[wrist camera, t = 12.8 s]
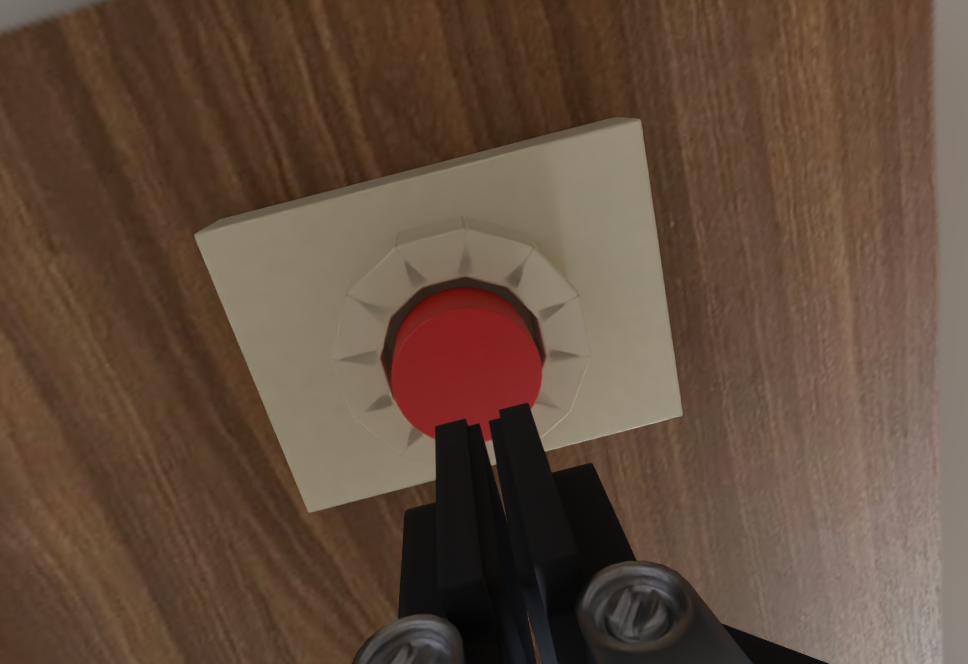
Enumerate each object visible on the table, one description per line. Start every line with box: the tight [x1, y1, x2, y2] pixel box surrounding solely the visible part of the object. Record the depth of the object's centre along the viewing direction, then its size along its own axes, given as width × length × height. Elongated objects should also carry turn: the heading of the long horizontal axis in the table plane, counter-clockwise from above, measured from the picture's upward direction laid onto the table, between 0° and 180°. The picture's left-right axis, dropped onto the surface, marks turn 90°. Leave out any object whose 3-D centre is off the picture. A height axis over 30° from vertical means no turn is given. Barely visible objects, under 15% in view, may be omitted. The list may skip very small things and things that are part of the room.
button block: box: [194, 117, 683, 513], centre depth 18 cm, size 12×9×4 cm
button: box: [391, 287, 542, 442], centre depth 16 cm, size 4×4×2 cm
